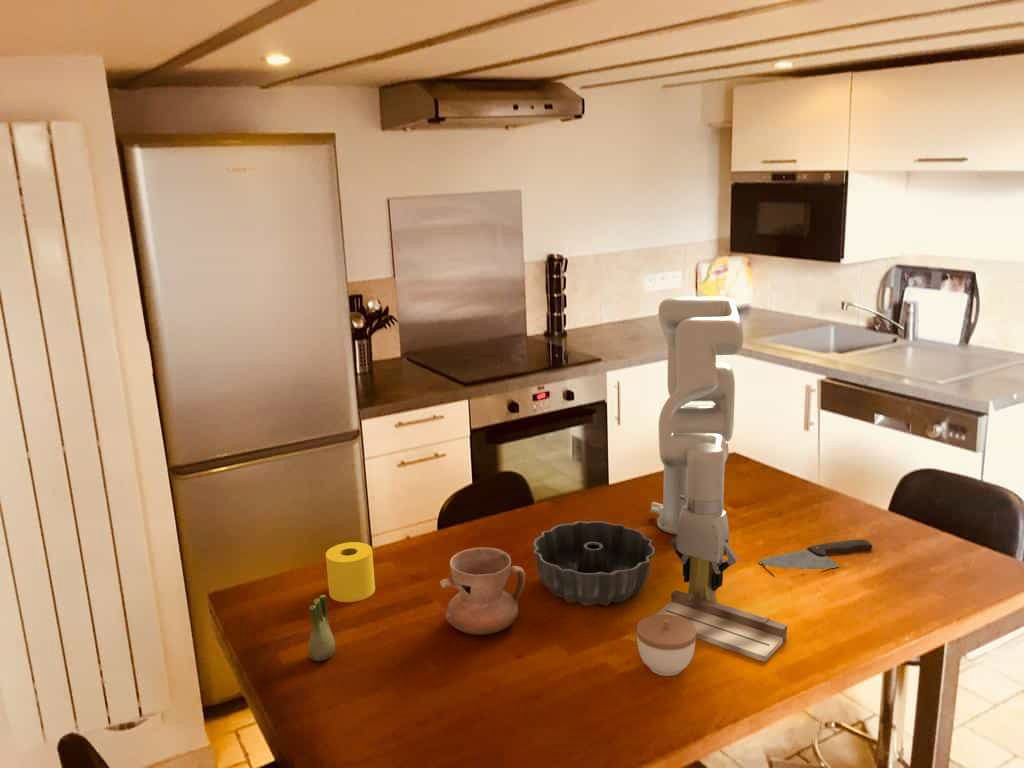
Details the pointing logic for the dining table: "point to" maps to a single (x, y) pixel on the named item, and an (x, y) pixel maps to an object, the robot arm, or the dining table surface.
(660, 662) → the lidded jar
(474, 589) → the ceramic jug
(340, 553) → the toilet paper roll
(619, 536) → the bundt pan
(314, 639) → the fennel bulb
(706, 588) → the vase
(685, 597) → the fence board
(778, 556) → the cleaver
